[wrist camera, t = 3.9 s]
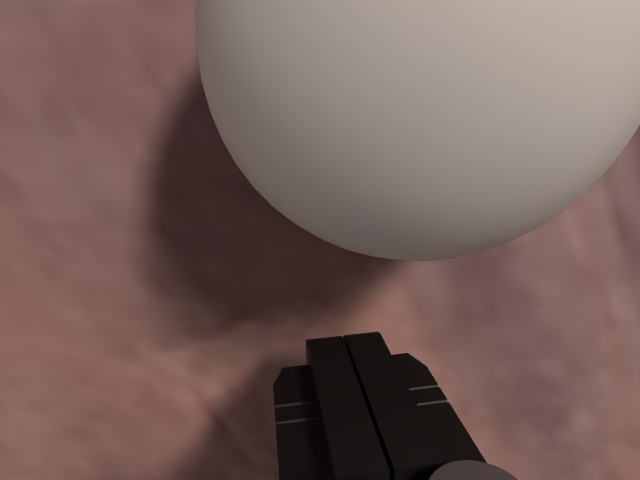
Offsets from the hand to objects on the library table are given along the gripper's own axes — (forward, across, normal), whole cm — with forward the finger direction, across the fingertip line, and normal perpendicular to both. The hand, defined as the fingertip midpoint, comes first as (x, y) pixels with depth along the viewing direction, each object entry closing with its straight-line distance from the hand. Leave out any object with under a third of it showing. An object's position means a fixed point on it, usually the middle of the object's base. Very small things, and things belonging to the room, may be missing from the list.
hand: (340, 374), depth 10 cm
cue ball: (-1, -1, -6) cm, 6 cm away
